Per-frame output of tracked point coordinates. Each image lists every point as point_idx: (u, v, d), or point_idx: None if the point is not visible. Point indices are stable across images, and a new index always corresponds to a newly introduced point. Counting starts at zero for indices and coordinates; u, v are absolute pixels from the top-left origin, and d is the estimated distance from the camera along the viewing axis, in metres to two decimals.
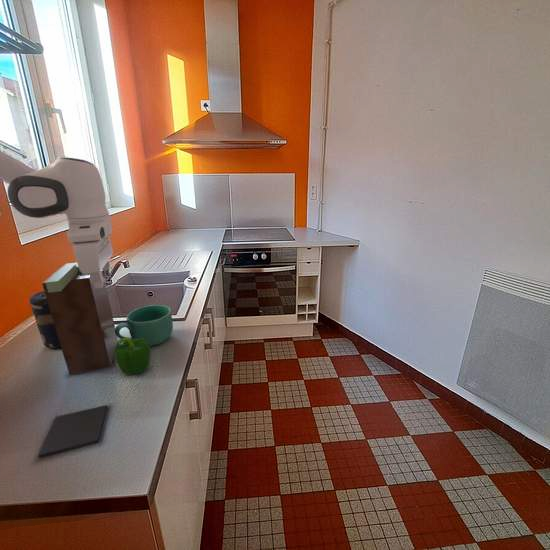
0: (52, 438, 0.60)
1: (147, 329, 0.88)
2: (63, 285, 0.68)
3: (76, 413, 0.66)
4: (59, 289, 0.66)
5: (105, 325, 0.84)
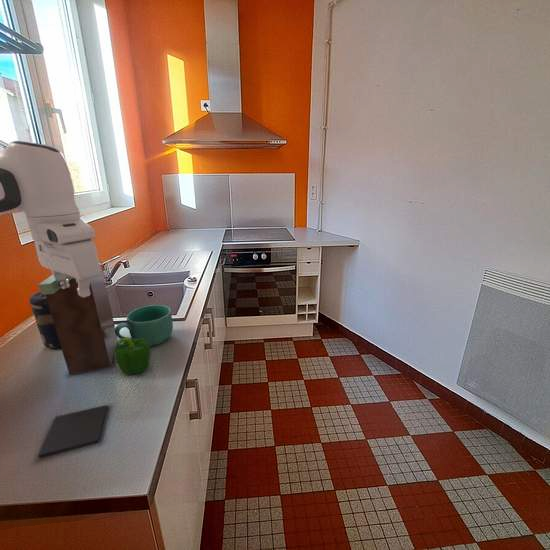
0: (52, 438, 0.60)
1: (147, 329, 0.88)
2: (57, 287, 0.68)
3: (76, 413, 0.66)
4: (51, 292, 0.66)
5: (105, 325, 0.84)
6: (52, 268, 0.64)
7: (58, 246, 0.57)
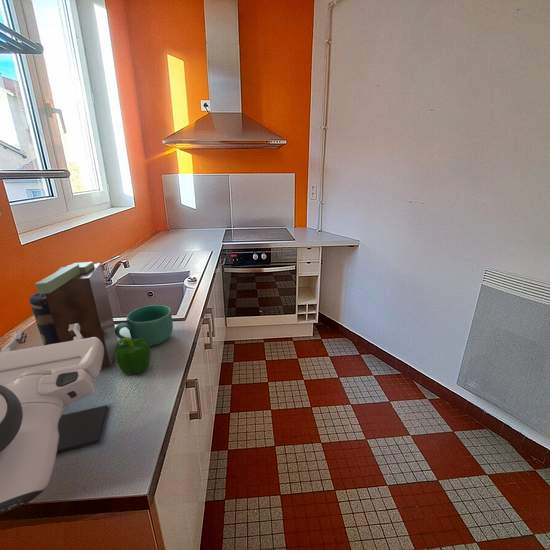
0: None
1: (147, 329, 0.88)
2: (54, 287, 0.67)
3: (76, 413, 0.66)
4: (48, 291, 0.65)
5: (105, 325, 0.84)
6: None
7: None
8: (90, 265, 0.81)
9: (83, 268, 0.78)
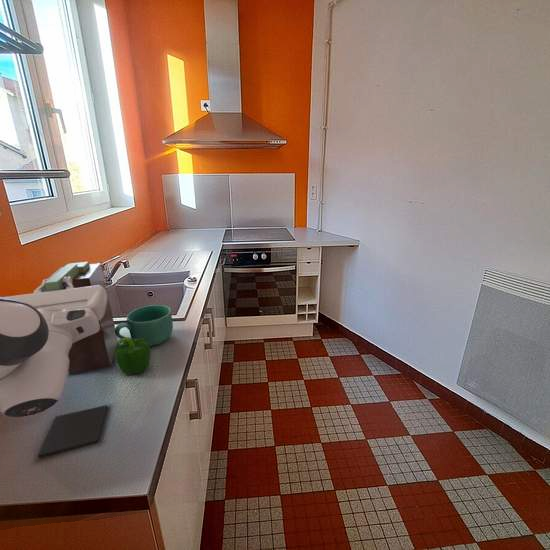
0: (52, 438, 0.60)
1: (147, 329, 0.88)
2: (62, 285, 0.68)
3: (76, 413, 0.66)
4: None
5: (105, 325, 0.84)
6: None
7: None
8: (86, 265, 0.81)
9: (81, 268, 0.79)
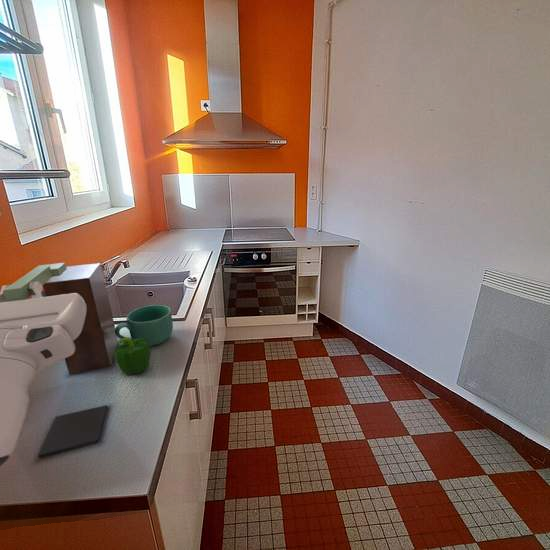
0: (52, 438, 0.60)
1: (147, 329, 0.88)
2: (28, 293, 0.53)
3: (76, 413, 0.66)
4: (22, 299, 0.51)
5: (105, 325, 0.84)
6: None
7: None
8: (62, 267, 0.66)
9: (55, 270, 0.63)
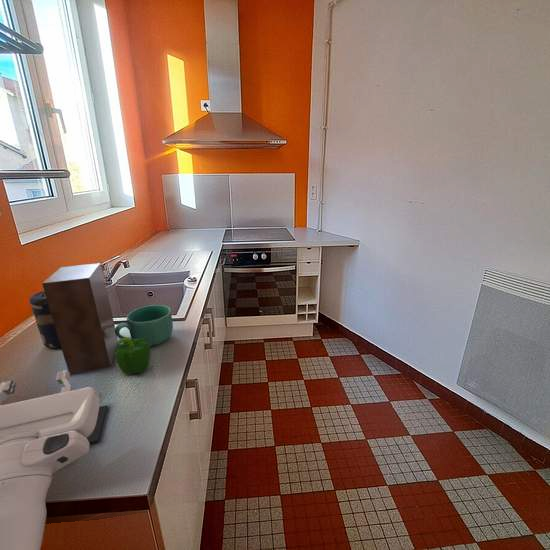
0: None
1: (147, 329, 0.88)
2: None
3: None
4: None
5: (105, 325, 0.84)
6: None
7: None
8: None
9: None
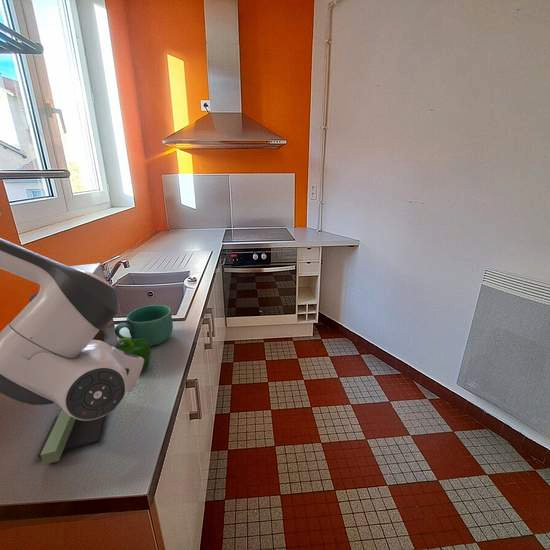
0: None
1: (147, 329, 0.88)
2: (62, 448, 0.57)
3: None
4: (57, 459, 0.55)
5: None
6: None
7: None
8: None
9: None
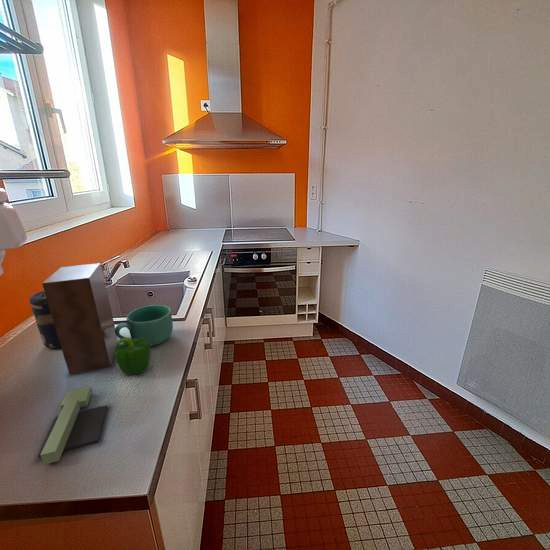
0: None
1: (147, 329, 0.88)
2: (62, 448, 0.57)
3: None
4: (57, 459, 0.55)
5: (105, 325, 0.84)
6: None
7: None
8: (89, 393, 0.70)
9: (83, 402, 0.68)
